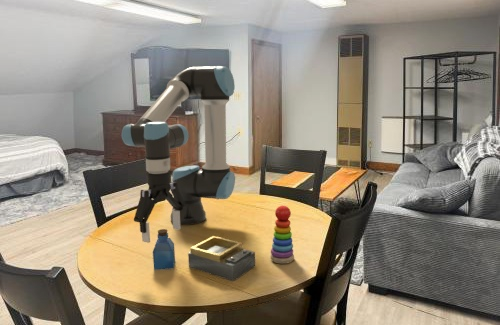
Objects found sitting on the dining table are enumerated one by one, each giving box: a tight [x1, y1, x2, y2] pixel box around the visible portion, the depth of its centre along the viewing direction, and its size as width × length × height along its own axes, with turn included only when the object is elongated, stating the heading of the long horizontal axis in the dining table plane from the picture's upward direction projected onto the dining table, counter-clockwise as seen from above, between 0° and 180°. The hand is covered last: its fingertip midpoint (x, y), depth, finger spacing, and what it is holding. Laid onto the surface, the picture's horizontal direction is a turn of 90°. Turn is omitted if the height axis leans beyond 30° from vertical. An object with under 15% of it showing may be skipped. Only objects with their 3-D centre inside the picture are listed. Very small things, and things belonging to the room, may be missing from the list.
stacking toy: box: [269, 205, 295, 265], centre depth 140 cm, size 8×8×19 cm
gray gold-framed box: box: [187, 235, 256, 282], centre depth 136 cm, size 18×12×7 cm, turn 56°
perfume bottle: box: [152, 228, 176, 271], centre depth 138 cm, size 6×6×12 cm
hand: (162, 235), depth 137 cm, fingers open, 13 cm apart
